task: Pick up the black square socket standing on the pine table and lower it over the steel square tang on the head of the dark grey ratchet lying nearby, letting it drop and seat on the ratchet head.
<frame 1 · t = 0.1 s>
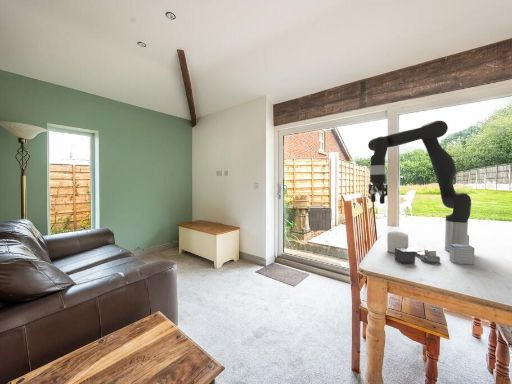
hand: (377, 202, 121), 29 cm above the table, tool pointing down, fingers open, 8 cm apart
medicine box: (461, 263, 107), on the table
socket: (404, 261, 110), on the table
photo printer: (397, 253, 123), on the table
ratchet: (430, 261, 110), on the table
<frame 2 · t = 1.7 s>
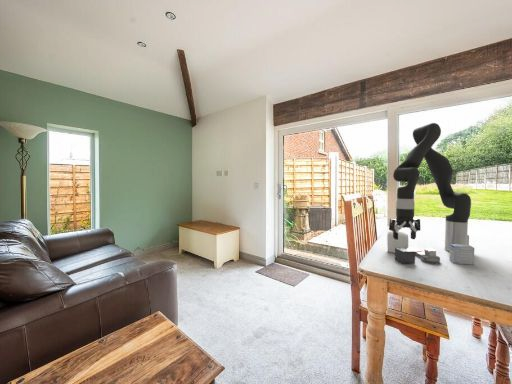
hand: (404, 239, 109), 12 cm above the table, tool pointing down, fingers open, 8 cm apart
nothing on the table moved.
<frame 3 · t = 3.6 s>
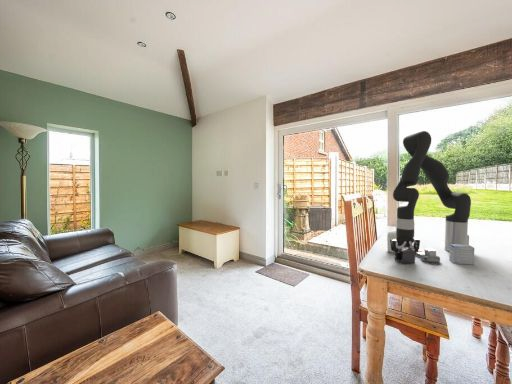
hand: (404, 259, 110), 1 cm above the table, tool pointing down, fingers closed on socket, 6 cm apart
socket: (404, 261, 110), on the table, touching gripper
everything else where it was.
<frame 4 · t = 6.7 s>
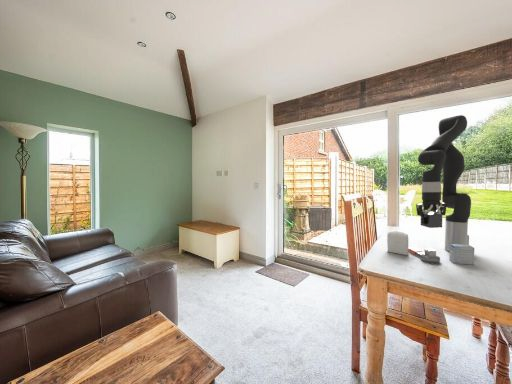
hand: (431, 223, 109), 19 cm above the table, tool pointing down, fingers closed on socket, 6 cm apart
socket: (431, 226, 109), point 18 cm above the table, touching gripper
everything else where it was.
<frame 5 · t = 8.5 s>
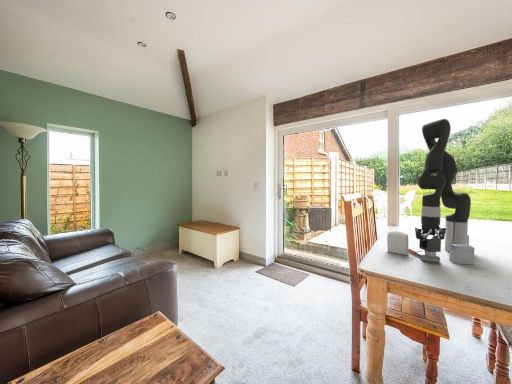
hand: (429, 247, 109), 7 cm above the table, tool pointing down, fingers closed on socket, 6 cm apart
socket: (429, 249, 110), point 6 cm above the table, touching gripper
everything else where it was.
when the fingers open (5 cm above the table, at t = 9.9 s): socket drops 1 cm, resting on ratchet.
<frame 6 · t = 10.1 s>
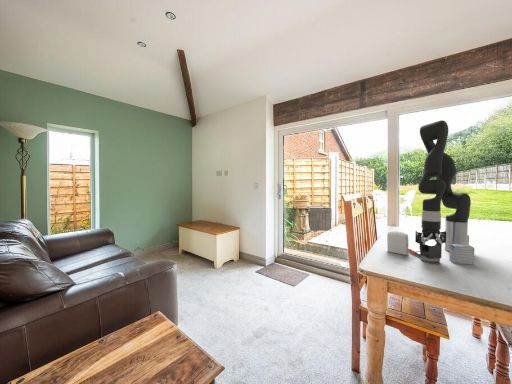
hand: (430, 251, 109), 5 cm above the table, tool pointing down, fingers open, 7 cm apart
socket: (430, 256, 110), point 2 cm above the table, touching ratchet
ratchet: (430, 261, 110), on the table, touching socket
everything else where it was.
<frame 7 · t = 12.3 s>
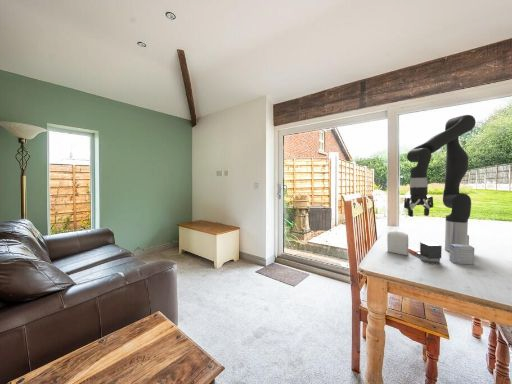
hand: (418, 216, 116), 22 cm above the table, tool pointing down, fingers open, 8 cm apart
nothing on the table moved.
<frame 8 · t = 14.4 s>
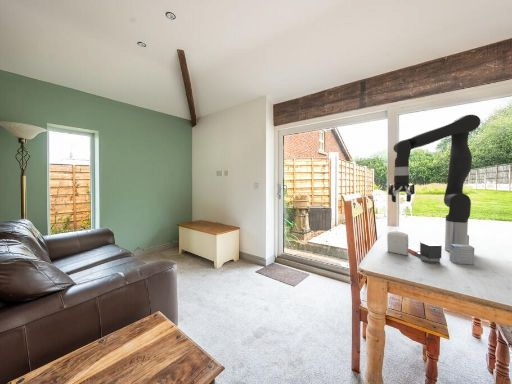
hand: (401, 201, 129), 28 cm above the table, tool pointing down, fingers open, 8 cm apart
nothing on the table moved.
at the end: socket 0.1 cm off-centre on the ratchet, point 2.5 cm above the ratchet's base; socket tilted 0°; the gripper is holding nothing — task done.
